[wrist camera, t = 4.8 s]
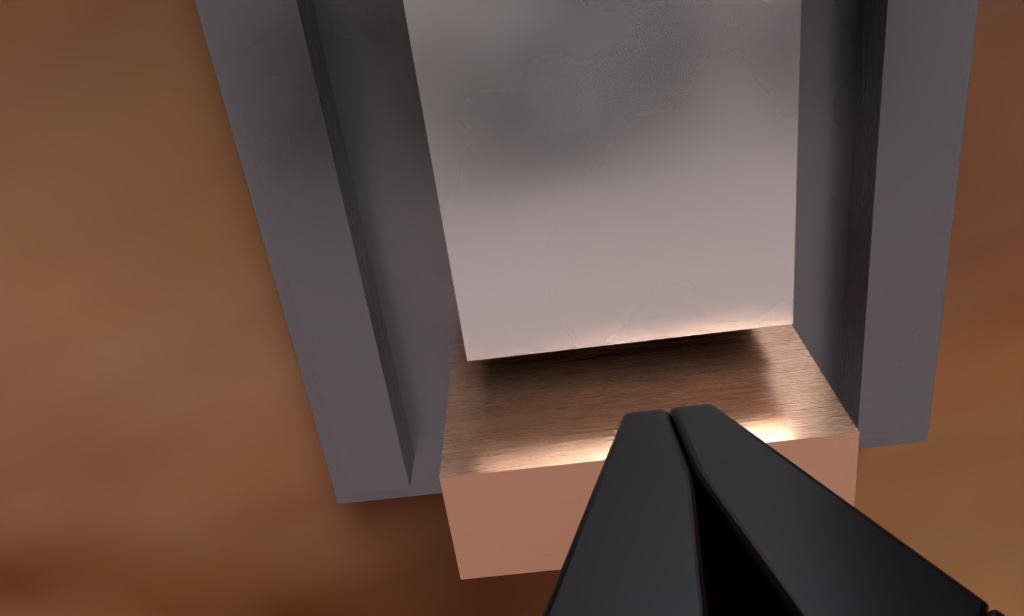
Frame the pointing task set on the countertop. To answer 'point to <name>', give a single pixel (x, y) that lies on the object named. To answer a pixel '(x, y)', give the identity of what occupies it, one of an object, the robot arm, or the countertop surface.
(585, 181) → the bar
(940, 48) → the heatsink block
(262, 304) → the countertop surface
